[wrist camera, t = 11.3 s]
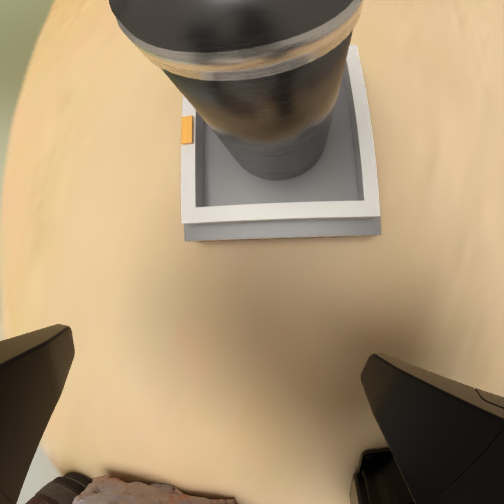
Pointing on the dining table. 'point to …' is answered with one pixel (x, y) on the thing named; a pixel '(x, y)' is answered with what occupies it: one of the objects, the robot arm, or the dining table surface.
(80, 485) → the camera lens
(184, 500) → the weathered brick
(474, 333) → the dining table surface
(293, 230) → the shallow square tray
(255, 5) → the dark tapered cup
